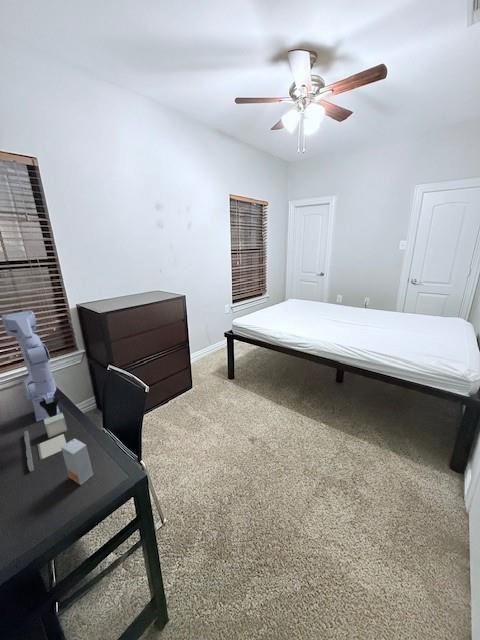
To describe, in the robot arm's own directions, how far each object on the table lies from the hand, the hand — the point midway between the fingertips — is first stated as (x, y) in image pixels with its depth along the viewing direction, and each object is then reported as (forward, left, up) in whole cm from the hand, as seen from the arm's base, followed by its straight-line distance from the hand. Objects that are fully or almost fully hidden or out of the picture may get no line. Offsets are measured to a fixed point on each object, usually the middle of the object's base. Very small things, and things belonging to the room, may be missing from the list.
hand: (51, 410), depth 98 cm
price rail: (+5, -9, -9) cm, 14 cm away
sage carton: (0, 0, -10) cm, 10 cm away
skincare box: (+29, +3, -10) cm, 31 cm away
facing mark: (+8, -2, -9) cm, 13 cm away
